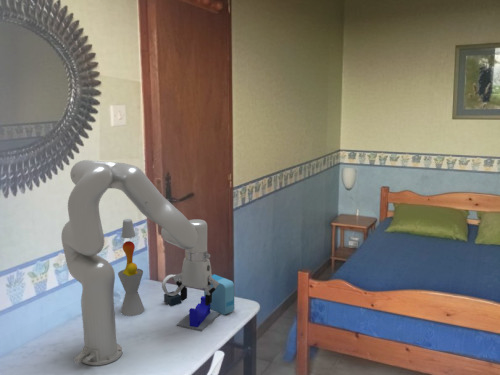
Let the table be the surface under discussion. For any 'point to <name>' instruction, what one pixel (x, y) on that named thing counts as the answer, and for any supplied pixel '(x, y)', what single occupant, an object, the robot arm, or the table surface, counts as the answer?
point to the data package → (222, 296)
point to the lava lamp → (130, 275)
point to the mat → (186, 324)
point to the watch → (171, 293)
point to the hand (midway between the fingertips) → (196, 302)
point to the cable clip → (199, 313)
